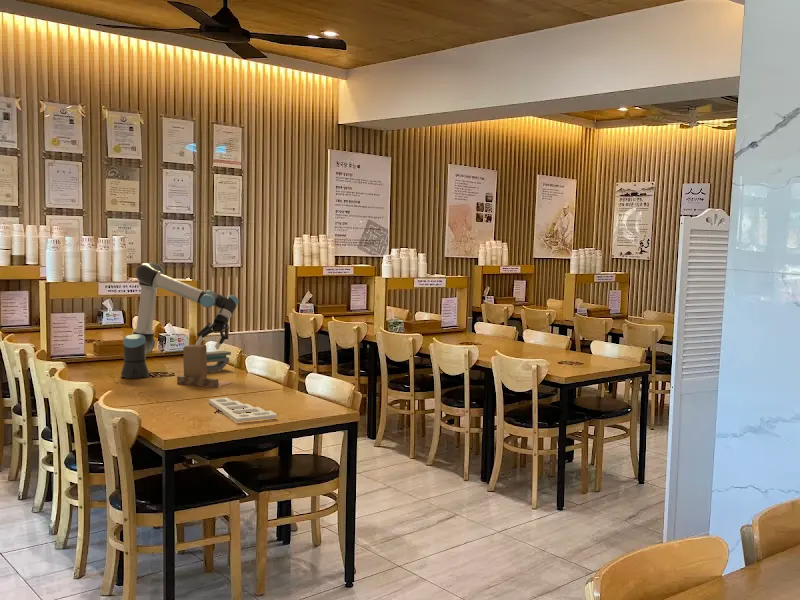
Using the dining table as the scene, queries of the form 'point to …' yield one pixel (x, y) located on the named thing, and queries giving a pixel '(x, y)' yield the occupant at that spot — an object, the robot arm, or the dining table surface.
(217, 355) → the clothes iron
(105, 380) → the dining table surface
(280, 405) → the dining table surface
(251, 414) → the holder
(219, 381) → the terracotta end mark
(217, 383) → the walnut straightedge
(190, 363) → the wooden block
